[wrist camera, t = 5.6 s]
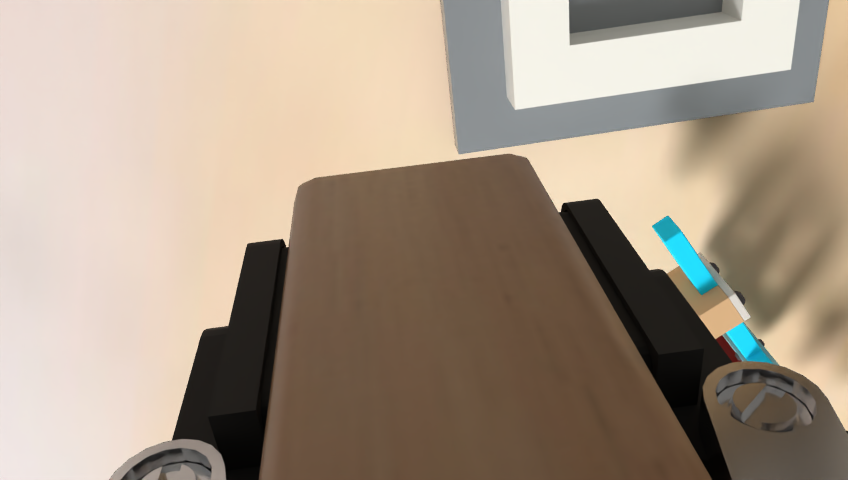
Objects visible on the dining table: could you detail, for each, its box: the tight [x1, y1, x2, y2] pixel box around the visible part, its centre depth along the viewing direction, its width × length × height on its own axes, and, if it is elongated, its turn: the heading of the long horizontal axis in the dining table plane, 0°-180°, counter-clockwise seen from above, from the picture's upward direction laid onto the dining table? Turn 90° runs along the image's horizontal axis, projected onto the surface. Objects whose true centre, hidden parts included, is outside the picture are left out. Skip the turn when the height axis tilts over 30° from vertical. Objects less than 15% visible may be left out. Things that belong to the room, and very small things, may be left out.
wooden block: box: [259, 154, 712, 480], centre depth 10 cm, size 4×4×8 cm
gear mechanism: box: [652, 216, 779, 366], centre depth 31 cm, size 20×5×9 cm, turn 38°
